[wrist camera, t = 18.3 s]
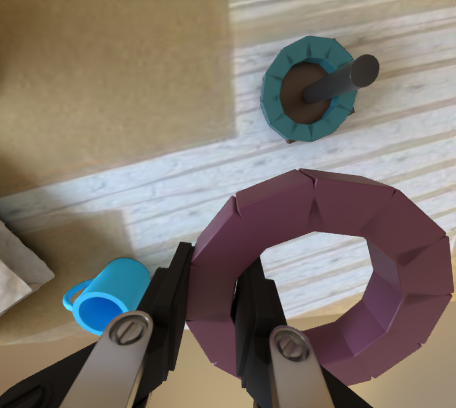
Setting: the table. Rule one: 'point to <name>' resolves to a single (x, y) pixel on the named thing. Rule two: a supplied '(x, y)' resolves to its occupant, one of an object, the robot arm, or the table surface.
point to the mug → (108, 294)
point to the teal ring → (288, 58)
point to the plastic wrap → (18, 270)
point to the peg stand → (322, 87)
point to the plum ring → (338, 224)
